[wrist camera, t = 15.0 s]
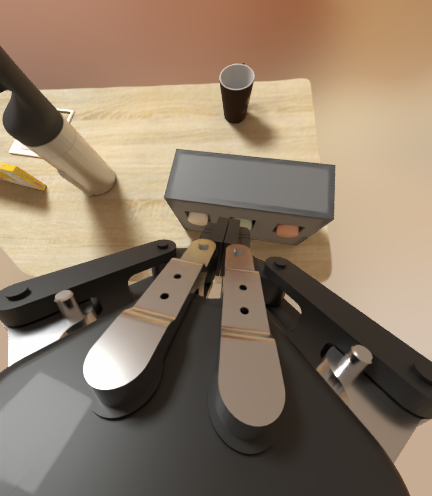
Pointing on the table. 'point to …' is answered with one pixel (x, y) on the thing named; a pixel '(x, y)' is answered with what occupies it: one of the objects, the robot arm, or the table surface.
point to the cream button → (198, 218)
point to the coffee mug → (236, 91)
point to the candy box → (19, 177)
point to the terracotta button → (287, 230)
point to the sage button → (245, 223)
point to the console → (252, 192)
